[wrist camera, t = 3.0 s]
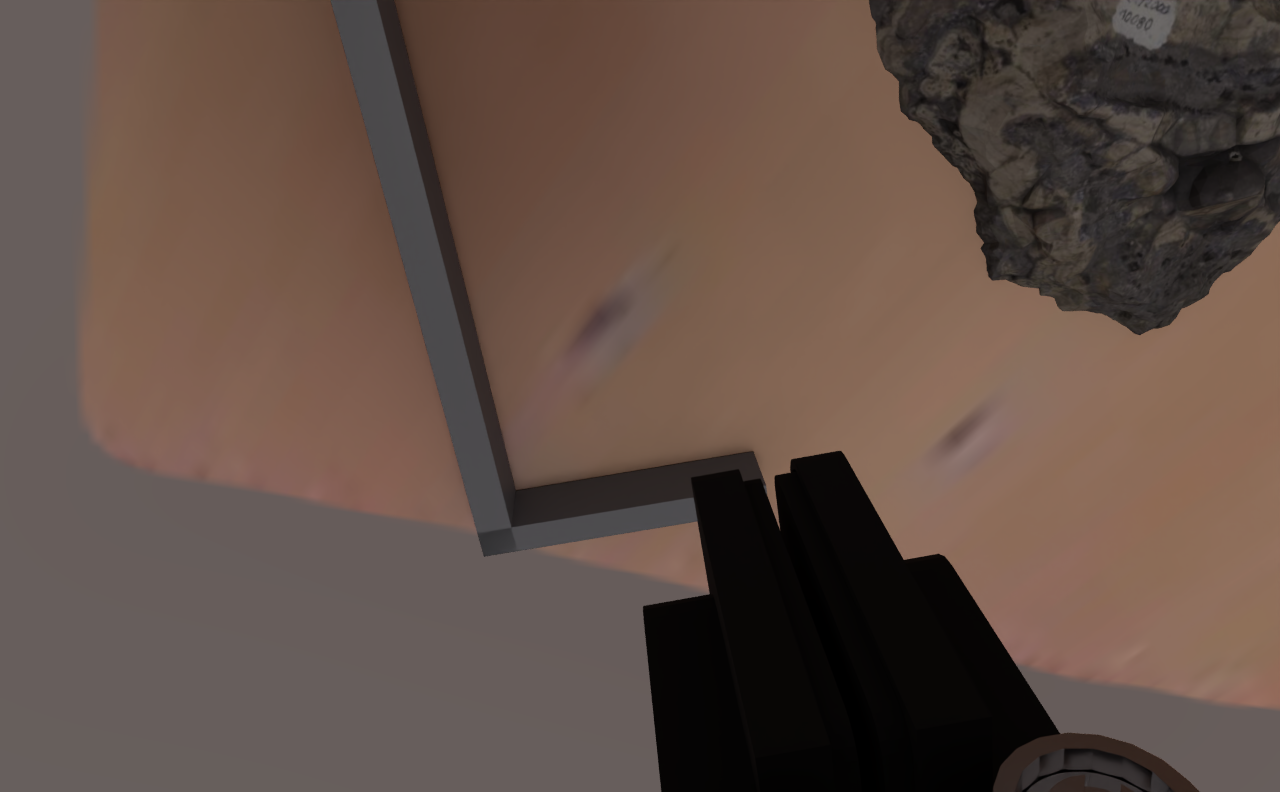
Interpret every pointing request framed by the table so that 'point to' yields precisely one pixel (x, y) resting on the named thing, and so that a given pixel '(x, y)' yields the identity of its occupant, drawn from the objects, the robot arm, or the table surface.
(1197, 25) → the grey rough rock slab
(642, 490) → the frame
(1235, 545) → the table surface
